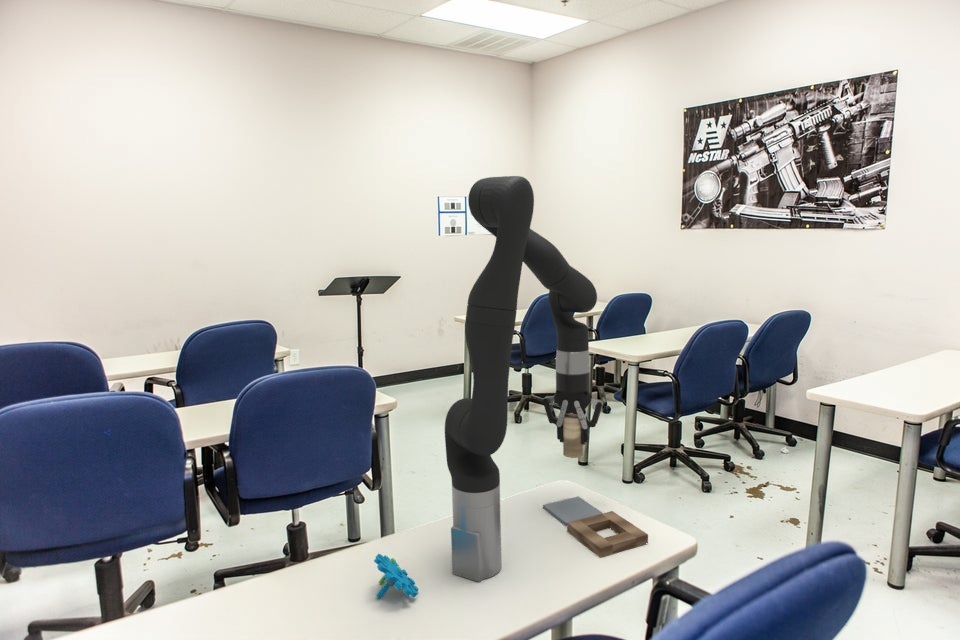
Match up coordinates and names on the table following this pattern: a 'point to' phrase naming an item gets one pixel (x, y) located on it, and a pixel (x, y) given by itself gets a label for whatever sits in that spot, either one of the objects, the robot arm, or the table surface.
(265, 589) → the table surface
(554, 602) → the table surface
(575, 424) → the peg
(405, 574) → the blue branched plastic piece
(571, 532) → the pocket block
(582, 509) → the mat
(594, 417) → the robot arm
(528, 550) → the table surface
